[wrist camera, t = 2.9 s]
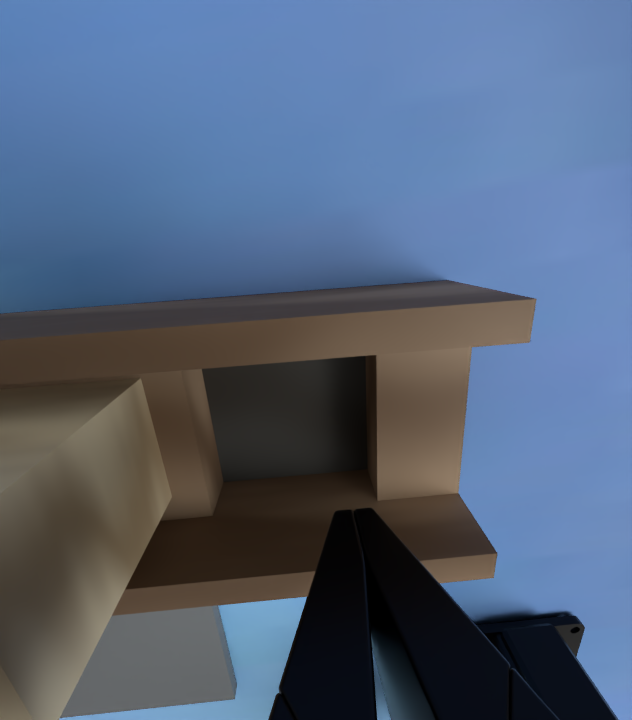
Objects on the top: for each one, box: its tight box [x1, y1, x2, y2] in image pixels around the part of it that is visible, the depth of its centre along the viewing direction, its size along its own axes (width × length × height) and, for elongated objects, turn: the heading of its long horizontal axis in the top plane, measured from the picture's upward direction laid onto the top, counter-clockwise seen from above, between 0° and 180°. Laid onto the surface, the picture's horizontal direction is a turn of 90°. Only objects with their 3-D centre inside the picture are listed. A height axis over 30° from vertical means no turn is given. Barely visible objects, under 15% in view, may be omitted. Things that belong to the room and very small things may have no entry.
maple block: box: [0, 378, 172, 720], centre depth 8 cm, size 4×4×6 cm
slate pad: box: [60, 605, 237, 718], centre depth 16 cm, size 11×11×1 cm
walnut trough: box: [0, 280, 536, 616], centre depth 10 cm, size 8×24×4 cm, turn 94°
